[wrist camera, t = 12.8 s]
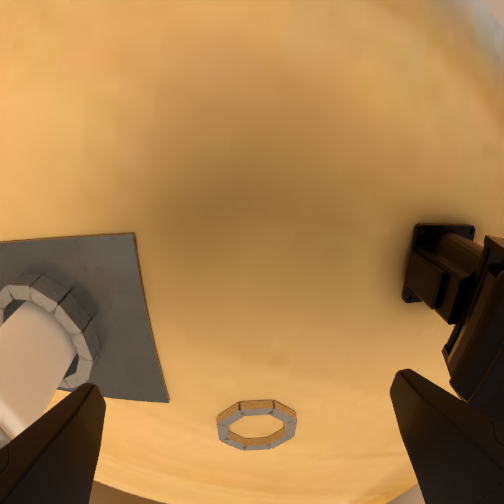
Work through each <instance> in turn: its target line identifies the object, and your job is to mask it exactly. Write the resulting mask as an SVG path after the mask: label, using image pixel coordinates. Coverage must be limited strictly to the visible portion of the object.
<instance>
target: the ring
mask: <svg viewBox="0 0 504 504" xmlns="http://www.w3.org/2000/svg"><path fill="white" fill-rule="evenodd" d="M269 414H270V415H272V416H274V417H276V418H278V419H280V420H282V421H284V428H283V429H281V430H280V431H278V432H276V433H274V434H273V435H271V436H269V437H267V438H251V439H245V438H243V437H241V436H239V435H236V434H234V433H232V432H230V431H229V425H230V424H232V423H234V422H235V421H237V420H239V419H240V418H242V417H243V416H253V415H269ZM296 423H297V418H296V413H295V411H293V410H291V409H289V408H287V407H286V406H284V405H282V404H280V403H278V402H277V401H275V400H274V401H273V402H272V400H262V401H242V402H240V403H239V402H238V403H236V404H235V405H233V406H232V407H230V408H229V409H227V410H226V411H224V412H223V413H221V414H219V415H218V417H217V429H218V435H219V440H221V442H224V443H226V444H228V445H230V446H233V447H235V448H237V449H240V450H244V451H245V450H264V449H271V448H275V447H276V446H278V445H280V444H282V443H284V442H285V441H287V440H289V439H291V438H293V436H294V435H295V429H296Z"/></svg>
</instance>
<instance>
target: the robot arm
mask: <svg viewBox="0 0 504 504" xmlns="http://www.w3.org/2000/svg"><path fill="white" fill-rule="evenodd" d="M421 229H422V232H421V233H420V230H421ZM469 231H470V232H469ZM474 234H475V227H474V226H472V225H470V224H418V225H416V227H415V229H414V236H413V242H412V248H411V253H410V257H409V262H408V268H407V273H406V278H405V286H404V290H403V295H402V299H403V300H404V301H405V302H406V303H414V302H421V301H423V302H424V303H425V304H426V305H427V306H428V307H429V308H430V309H432V310H433V309H434V310H435V311H436V312H437V313H438V314H439V315H440V316H441V317H442V318H443V319H444V320H445V321H446V322H447V323H448V324H449V325H451V324H454V325H455V327H454V329H453V331H452V333H451V335H450V338H449V340H448V342H447V344H445V345H444V347H443V349H442V354H443V356H444V359H445V362H446V365H447V368H448V371H449V374H450V377H451V378H450V380H449V383H450V385H451V387H452V388H453V390H454V391H455V392H456V394H457V395H458V397H459V398H460V399H461V400H460V399H459V398H457V397H455V396H454V395H452V394H450V393H449V392H447V391H445V390H444V389H442V388H441V387H439V386H437V385H436V384H434V383H432V382H431V381H429V380H428V379H426V378H424V377H423V376H421V375H419V374H418V373H416V372H415V371H413V370H411V369H404V370H399V371H398V372H397V373H396V375H395V378H394V380H393V383H392V386H391V388H390V397H391V400H392V404H393V407H394V411H395V415H396V419H397V422H398V426H399V430H400V433H401V436H402V439H403V442H404V445H405V447H406V450H407V452H408V455H409V458H410V461H411V463H412V466H413V469H414V472H415V474H416V477H417V480H418V483H419V486H420V489H421V491H422V495H423V498H424V501H425V504H504V239H503V238H498V237H494V236H489V235H486V236H485V239H484V247H482V246H480V245H478V244H477V243H475V242H473V239H474ZM409 295H410V296H409ZM408 296H409V297H408ZM407 297H408V298H407ZM105 411H106V403H105V400H104V398H103V396H102V394H101V392H100V390H99V388H98V386H97V385H96V384H92V383H83V384H82V385H80V386H79V387H78V388H77V389H75V390H74V391H73V392H72V393H70V394H69V395H68V396H66V397H65V398H64V399H63V400H61V401H60V402H59V403H58V404H56V405H55V406H54V407H53V408H51V409H50V410H49V411H48V412H46V413H45V414H44V415H43V416H41V417H40V418H39V419H38V420H36V421H35V422H34V423H32V424H31V425H30V426H29V427H27V428H26V429H25V430H24V431H22V432H21V433H20V434H19V435H17V436H16V437H15V438H14V439H12V440H11V441H10V442H9V443H7V444H6V445H5V446H3V447H2V448H1V449H0V504H89V499H90V493H91V489H92V483H93V479H94V474H95V470H96V465H97V461H98V457H99V452H100V447H101V440H102V432H103V424H104V417H105Z"/></svg>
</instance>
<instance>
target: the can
mask: <svg viewBox="0 0 504 504" xmlns="http://www.w3.org/2000/svg"><path fill="white" fill-rule="evenodd" d="M76 354H77V350H76V347H75V345H74V342H73V339H72V337H71V335H70V334H69V332H68V331H67V330H66V329H65V328H64V327H63V325H62V324H61V323H60V322H59V321H58V320H57V318H56V317H55V316H54V315H53V314H52V313H51V312H49V311H47V310H46V309H44V308H43V307H41V306H39V305H38V304H36V303H35V302H33V301H32V300H27V301H26V302H25V303H23V304H22V305H21V306H20V307H19V308H18V309H17V310H16V311H15V312H14V313H13V314H12V315H11V316H10V317H9V318H8V319H7V320H6V321H5V322H4V323H3V325H2V326H1V327H0V449H1V448H2V447H3V446H5V445H6V444H7V443H9V442H10V441H11V440H12V439H14V438H15V437H16V436H17V435H19V434H20V433H21V432H22V431H24V430H25V429H26V428H27V427H29V426H30V425H31V424H32V423H34V422H35V421H36V420H38V419H39V418H40V417H41V416H43V414H44V412H45V410H46V408H47V406H48V404H49V402H50V400H51V399H52V397H53V395H54V393H55V391H56V389H57V387H58V386H59V384H60V382H61V380H62V378H63V377H64V375H65V373H66V371H67V370H68V368H69V366H70V364H71V363H72V361H73V359H74V357H75V355H76Z"/></svg>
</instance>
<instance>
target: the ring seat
mask: <svg viewBox="0 0 504 504" xmlns="http://www.w3.org/2000/svg"><path fill="white" fill-rule="evenodd" d="M27 300H32V301H33V302H35V303H36V304H38V305H39V306H41V307H43V308H44V309H46V310H47V311H49V312H51V313H52V314H53V315H54V316H55V317H56V318H57V320H58V321H59V322H60V323H61V324H62V325H63V327H64V328H65V329H66V330H67V331H68V332H69V334H70V335H71V337H72V339H73V342H74V345H75V347H76V350H77V354H76V355H75V357H74V359H73V361H72V363H71V364H70V366H69V368H68V370H67V371H66V373H65V375H64V377H63V378H62V380H61V382H60V384H59V386H58V387H57V389H58V390H63V391H68V392H73V391H74V390H75V389H77V388H78V387H79V386H80V385H82V384H83V383H92V384H96V385H97V386H98V388H99V390H100V392H101V394H102V396H103V397H108V398H116V399H125V400H135V401H147V402H162V403H169V401H170V399H169V396H168V392H167V389H166V385H165V382H164V378H163V374H162V370H161V367H160V363H159V359H158V355H157V351H156V347H155V342H154V338H153V334H152V329H151V325H150V320H149V315H148V311H147V306H146V301H145V295H144V290H143V285H142V279H141V273H140V267H139V261H138V255H137V248H136V241H135V234H134V233H120V234H103V235H86V236H71V237H56V238H42V239H29V240H16V241H4V242H0V327H1V326H2V325H3V323H4V322H5V321H6V320H7V319H8V318H9V317H10V316H11V315H12V314H13V313H14V312H15V311H16V310H17V309H18V308H19V307H20V306H21V305H22V304H23V303H25V302H26V301H27Z"/></svg>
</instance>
